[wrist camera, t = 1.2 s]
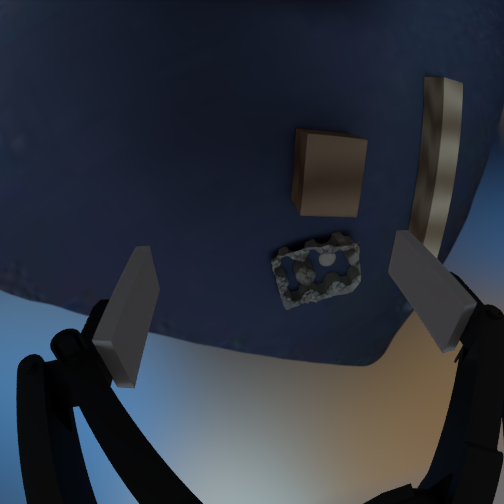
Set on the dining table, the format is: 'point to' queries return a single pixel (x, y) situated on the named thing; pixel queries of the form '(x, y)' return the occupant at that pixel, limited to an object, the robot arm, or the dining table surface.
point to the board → (436, 160)
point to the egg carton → (307, 274)
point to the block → (327, 173)
